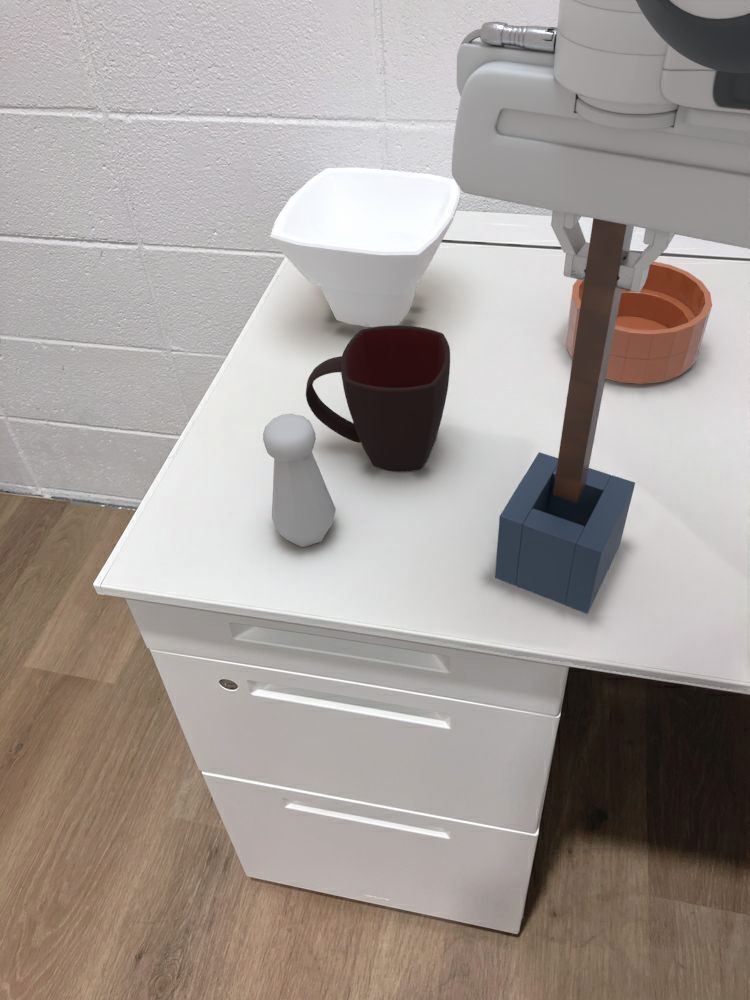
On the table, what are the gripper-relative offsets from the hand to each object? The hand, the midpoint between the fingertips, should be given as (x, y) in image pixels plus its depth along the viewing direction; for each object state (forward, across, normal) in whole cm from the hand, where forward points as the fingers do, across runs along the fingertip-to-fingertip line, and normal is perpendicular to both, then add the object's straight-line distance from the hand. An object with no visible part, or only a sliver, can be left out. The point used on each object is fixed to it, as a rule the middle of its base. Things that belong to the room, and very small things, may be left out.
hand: (604, 280), depth 50 cm
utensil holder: (+28, 0, 0) cm, 28 cm away
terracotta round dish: (+28, -4, +33) cm, 43 cm away
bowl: (+28, -34, +27) cm, 52 cm away
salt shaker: (+28, -22, -7) cm, 36 cm away
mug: (+28, -21, +6) cm, 36 cm away
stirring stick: (+19, 0, 0) cm, 19 cm away
